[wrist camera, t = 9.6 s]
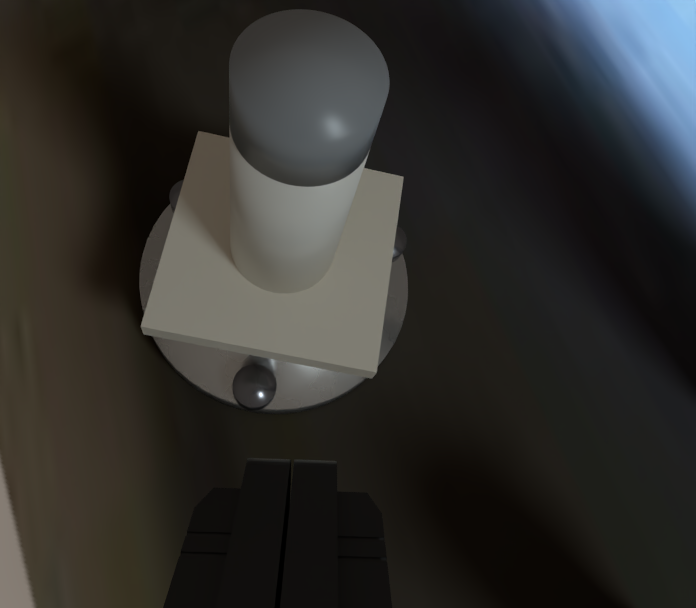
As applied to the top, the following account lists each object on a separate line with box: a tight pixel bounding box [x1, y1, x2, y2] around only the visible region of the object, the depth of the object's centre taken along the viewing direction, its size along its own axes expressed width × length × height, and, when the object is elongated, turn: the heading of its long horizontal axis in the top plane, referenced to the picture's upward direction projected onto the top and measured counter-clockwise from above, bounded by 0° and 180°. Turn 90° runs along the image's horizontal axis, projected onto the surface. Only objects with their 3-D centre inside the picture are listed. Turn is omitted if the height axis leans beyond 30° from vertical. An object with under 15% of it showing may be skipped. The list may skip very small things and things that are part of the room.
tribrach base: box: [139, 180, 408, 414], centre depth 38 cm, size 16×16×4 cm
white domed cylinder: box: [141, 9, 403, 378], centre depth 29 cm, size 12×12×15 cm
